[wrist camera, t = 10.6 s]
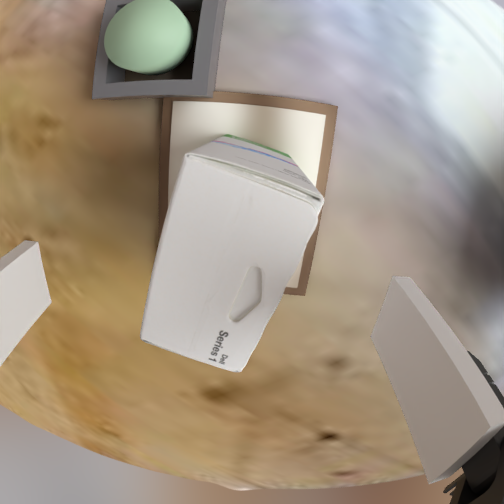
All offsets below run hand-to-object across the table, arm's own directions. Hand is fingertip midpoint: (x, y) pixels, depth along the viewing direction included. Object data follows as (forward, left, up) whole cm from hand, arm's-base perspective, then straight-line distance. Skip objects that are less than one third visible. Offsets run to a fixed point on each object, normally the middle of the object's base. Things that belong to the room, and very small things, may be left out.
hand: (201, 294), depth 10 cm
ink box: (0, 0, -13) cm, 13 cm away
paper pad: (0, 0, -13) cm, 13 cm away
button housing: (-6, +11, -13) cm, 18 cm away
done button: (-6, +11, -11) cm, 17 cm away
